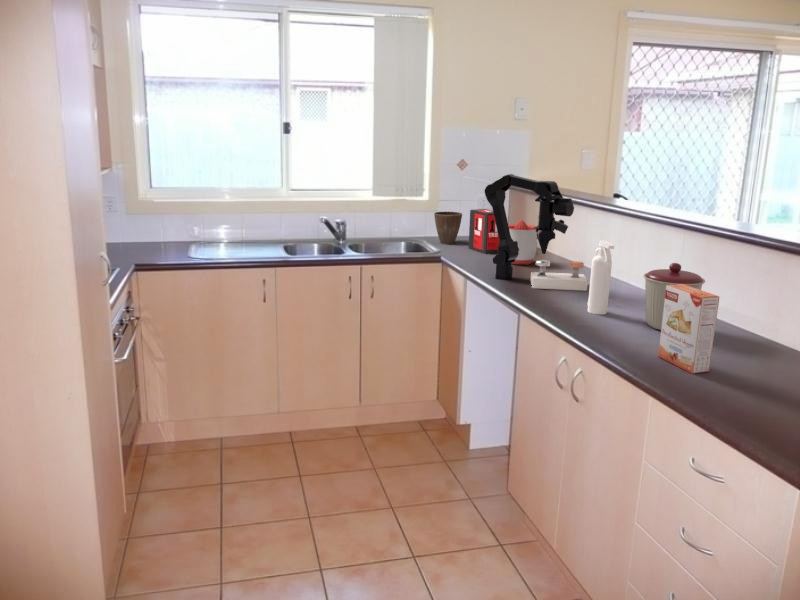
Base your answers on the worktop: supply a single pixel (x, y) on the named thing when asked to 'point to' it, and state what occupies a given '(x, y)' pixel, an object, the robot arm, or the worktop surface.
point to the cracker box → (688, 327)
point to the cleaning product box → (483, 232)
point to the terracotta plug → (576, 267)
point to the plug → (542, 266)
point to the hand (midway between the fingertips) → (543, 253)
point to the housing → (558, 281)
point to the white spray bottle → (600, 279)
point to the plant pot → (447, 226)
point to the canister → (657, 290)
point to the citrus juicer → (524, 241)
